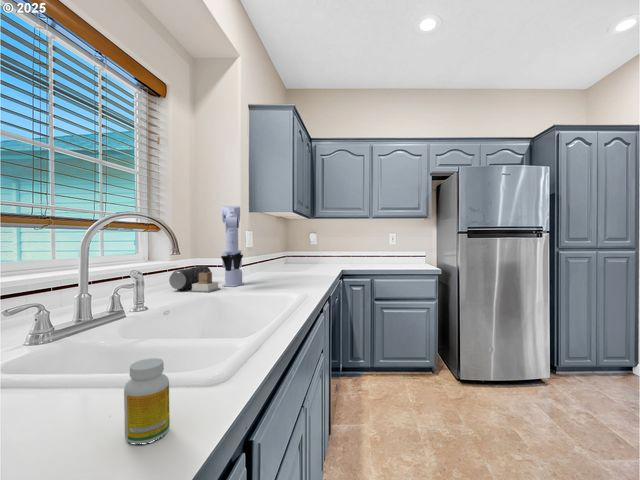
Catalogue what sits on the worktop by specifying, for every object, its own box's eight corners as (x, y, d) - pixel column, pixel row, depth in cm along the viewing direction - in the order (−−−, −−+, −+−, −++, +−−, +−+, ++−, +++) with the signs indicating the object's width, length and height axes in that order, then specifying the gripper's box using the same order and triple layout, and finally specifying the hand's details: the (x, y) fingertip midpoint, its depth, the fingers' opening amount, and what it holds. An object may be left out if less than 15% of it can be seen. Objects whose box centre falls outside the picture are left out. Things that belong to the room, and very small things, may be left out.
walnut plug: (204, 288, 166) (203, 270, 166) (212, 288, 165) (211, 270, 165) (198, 289, 162) (198, 271, 162) (207, 290, 161) (206, 271, 161)
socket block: (202, 288, 170) (202, 281, 169) (220, 289, 167) (220, 281, 167) (189, 291, 160) (189, 284, 160) (208, 292, 157) (208, 284, 157)
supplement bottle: (119, 435, 45) (117, 363, 45) (160, 419, 49) (159, 353, 49) (133, 452, 42) (131, 375, 41) (176, 433, 46) (175, 362, 45)
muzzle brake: (211, 283, 187) (211, 265, 187) (187, 292, 159) (186, 270, 159) (195, 283, 188) (195, 265, 188) (167, 292, 160) (167, 270, 160)
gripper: (231, 242, 156) (232, 271, 156) (246, 241, 170) (247, 268, 170) (218, 242, 158) (218, 271, 158) (234, 241, 172) (234, 268, 172)
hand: (232, 270), depth 164 cm, fingers open, 7 cm apart
